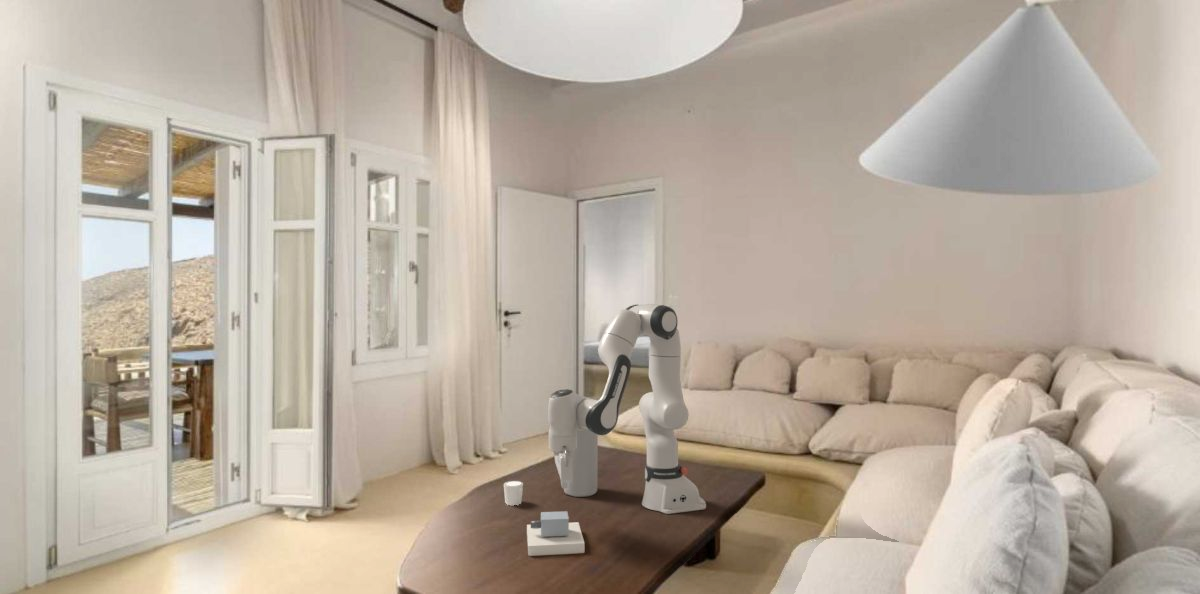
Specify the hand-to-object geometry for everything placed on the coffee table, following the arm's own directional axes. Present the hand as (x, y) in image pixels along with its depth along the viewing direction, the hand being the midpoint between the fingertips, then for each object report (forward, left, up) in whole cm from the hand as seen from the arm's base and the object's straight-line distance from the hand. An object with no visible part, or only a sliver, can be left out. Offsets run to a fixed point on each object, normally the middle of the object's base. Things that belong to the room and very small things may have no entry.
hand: (564, 486), depth 188 cm
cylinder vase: (-10, -37, -14) cm, 41 cm away
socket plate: (+3, +8, -14) cm, 16 cm away
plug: (+5, +8, -14) cm, 17 cm away
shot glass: (+15, -28, -14) cm, 35 cm away
